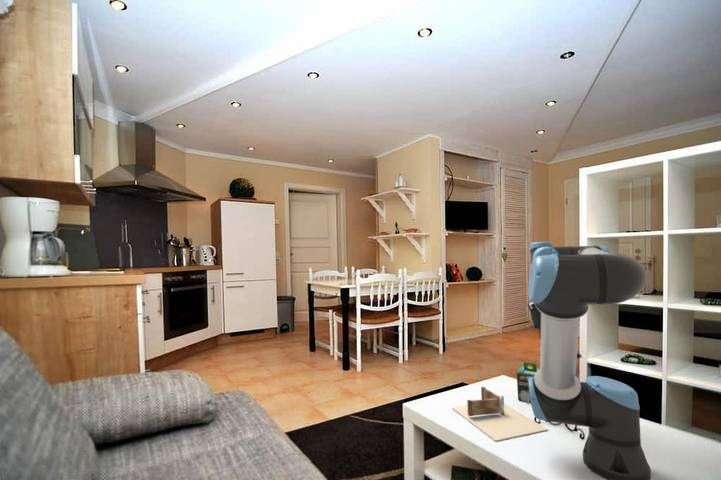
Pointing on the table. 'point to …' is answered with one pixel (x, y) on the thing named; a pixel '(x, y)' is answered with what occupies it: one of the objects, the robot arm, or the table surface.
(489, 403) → the hinged panel
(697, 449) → the table surface
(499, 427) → the card
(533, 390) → the robot arm
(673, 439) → the table surface
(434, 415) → the table surface
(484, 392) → the fixed panel
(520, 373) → the chalk box
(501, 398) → the hinge post
